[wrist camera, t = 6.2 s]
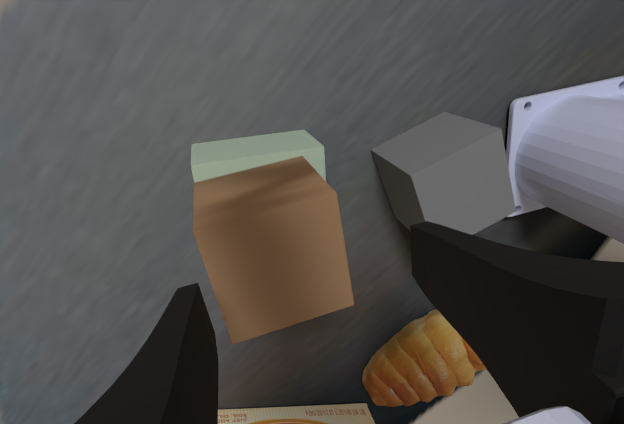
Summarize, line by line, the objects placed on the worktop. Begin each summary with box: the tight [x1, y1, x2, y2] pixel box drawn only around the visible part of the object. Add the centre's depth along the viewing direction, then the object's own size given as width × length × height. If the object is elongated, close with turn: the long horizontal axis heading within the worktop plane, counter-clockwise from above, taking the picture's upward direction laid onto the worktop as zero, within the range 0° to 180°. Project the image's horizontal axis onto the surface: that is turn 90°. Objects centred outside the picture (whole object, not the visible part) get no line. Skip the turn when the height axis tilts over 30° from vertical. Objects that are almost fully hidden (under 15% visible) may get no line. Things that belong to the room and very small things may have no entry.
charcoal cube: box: [371, 112, 516, 235], centre depth 22 cm, size 5×5×5 cm
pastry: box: [362, 309, 486, 407], centre depth 29 cm, size 9×7×4 cm
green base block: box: [191, 130, 326, 183], centre depth 21 cm, size 6×6×4 cm
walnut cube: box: [193, 156, 354, 344], centre depth 17 cm, size 5×5×5 cm
